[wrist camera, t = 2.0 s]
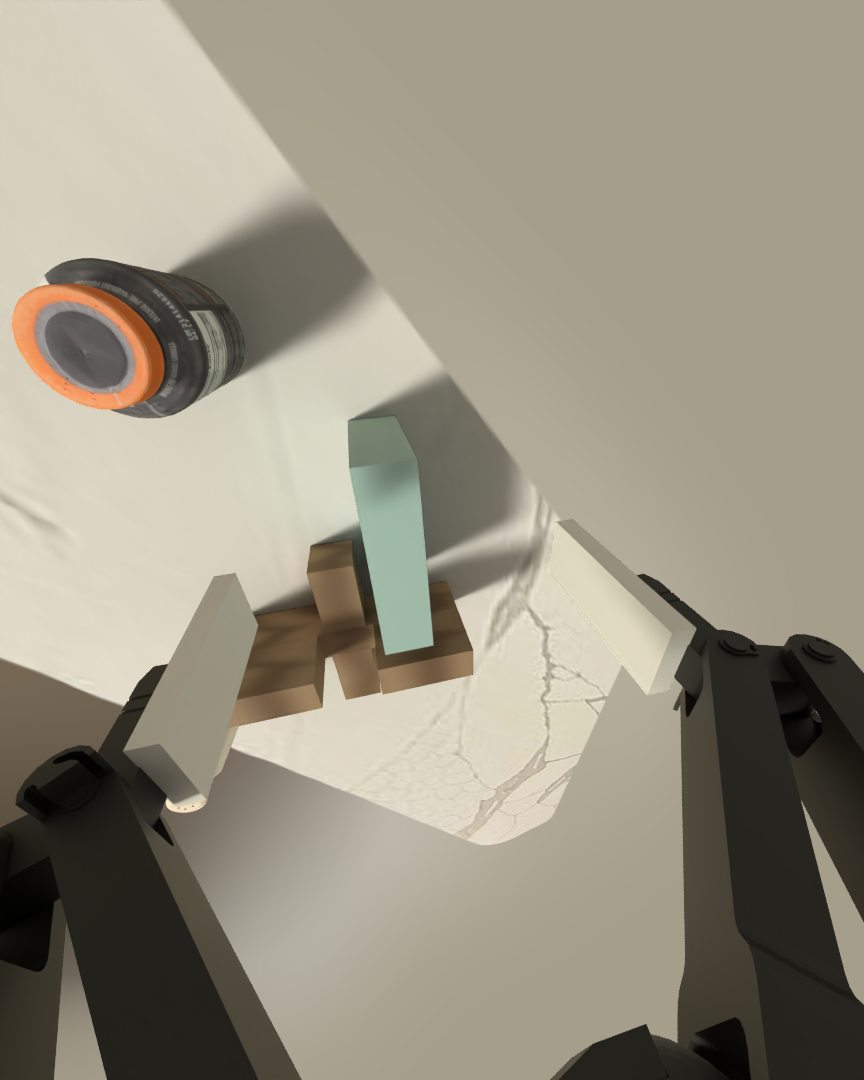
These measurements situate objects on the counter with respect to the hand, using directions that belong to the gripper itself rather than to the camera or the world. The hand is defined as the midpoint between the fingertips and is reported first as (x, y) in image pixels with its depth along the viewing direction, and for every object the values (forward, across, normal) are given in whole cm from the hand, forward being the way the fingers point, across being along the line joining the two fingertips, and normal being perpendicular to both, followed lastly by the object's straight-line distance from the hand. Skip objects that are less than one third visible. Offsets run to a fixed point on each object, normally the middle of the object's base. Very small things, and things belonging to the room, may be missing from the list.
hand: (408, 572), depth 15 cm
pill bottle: (+16, -10, +9) cm, 21 cm away
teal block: (+16, 0, -4) cm, 16 cm away
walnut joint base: (+16, -5, -15) cm, 22 cm away
